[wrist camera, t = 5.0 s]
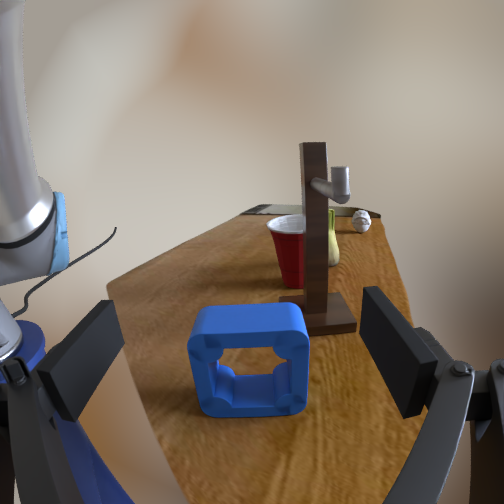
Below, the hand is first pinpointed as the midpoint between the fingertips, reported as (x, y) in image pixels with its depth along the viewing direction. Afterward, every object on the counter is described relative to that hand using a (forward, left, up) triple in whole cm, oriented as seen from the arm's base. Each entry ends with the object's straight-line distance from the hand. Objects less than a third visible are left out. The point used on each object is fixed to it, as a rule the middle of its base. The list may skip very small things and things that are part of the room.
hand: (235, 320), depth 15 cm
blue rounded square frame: (-8, +5, -15) cm, 18 cm away
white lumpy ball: (-49, +65, -15) cm, 83 cm away
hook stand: (-15, +19, -15) cm, 28 cm away
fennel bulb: (-34, +38, -15) cm, 54 cm away
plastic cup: (-30, +27, -15) cm, 43 cm away
